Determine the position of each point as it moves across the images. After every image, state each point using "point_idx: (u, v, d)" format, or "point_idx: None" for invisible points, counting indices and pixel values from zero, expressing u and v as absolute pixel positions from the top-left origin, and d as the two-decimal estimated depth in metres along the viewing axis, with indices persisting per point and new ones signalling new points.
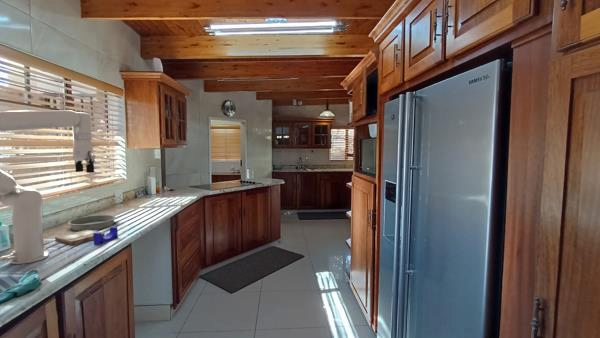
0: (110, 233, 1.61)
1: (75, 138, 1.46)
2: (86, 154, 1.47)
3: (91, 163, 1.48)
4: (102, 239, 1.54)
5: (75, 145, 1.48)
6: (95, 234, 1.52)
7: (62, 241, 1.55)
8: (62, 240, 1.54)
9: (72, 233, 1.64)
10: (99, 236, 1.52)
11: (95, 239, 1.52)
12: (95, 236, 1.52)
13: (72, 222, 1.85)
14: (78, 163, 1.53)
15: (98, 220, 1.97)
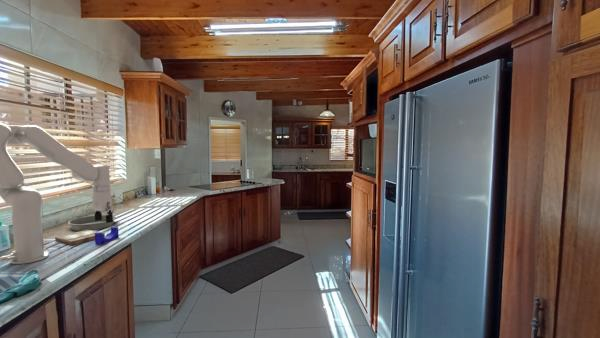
0: (111, 233, 1.61)
1: (95, 190, 1.52)
2: (105, 205, 1.53)
3: (110, 214, 1.54)
4: (103, 239, 1.54)
5: (95, 196, 1.54)
6: (96, 234, 1.51)
7: (62, 241, 1.55)
8: (62, 240, 1.54)
9: (72, 233, 1.64)
10: (100, 236, 1.52)
11: (96, 239, 1.52)
12: (97, 236, 1.52)
13: (72, 222, 1.85)
14: (97, 212, 1.59)
15: (98, 220, 1.97)
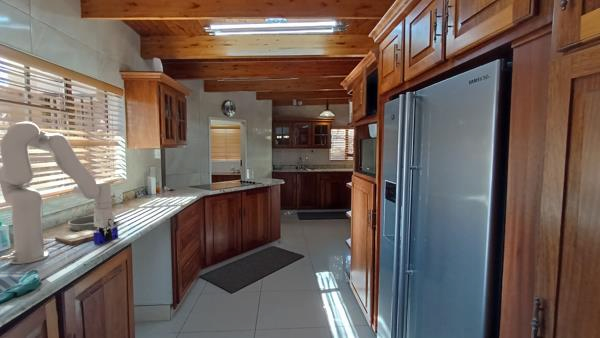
0: None
1: (96, 207, 1.53)
2: (107, 224, 1.54)
3: (109, 232, 1.56)
4: (102, 238, 1.54)
5: (96, 213, 1.55)
6: (95, 233, 1.52)
7: (62, 241, 1.55)
8: (62, 240, 1.54)
9: (72, 233, 1.64)
10: (99, 235, 1.52)
11: (95, 238, 1.52)
12: (96, 236, 1.52)
13: (72, 222, 1.85)
14: (100, 230, 1.59)
15: None
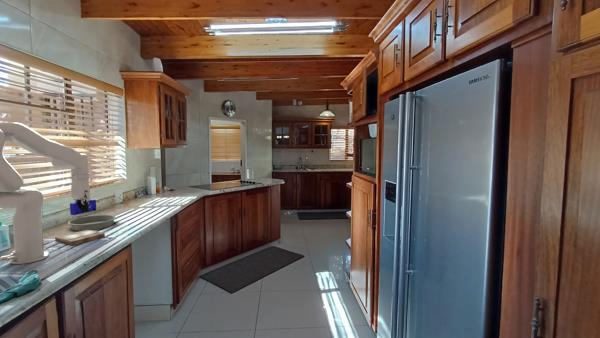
0: None
1: (73, 178, 1.55)
2: (83, 195, 1.55)
3: (86, 203, 1.57)
4: (78, 210, 1.55)
5: (73, 184, 1.57)
6: (71, 204, 1.53)
7: (62, 241, 1.55)
8: (62, 240, 1.54)
9: (72, 233, 1.64)
10: (75, 206, 1.54)
11: (71, 209, 1.54)
12: (72, 206, 1.54)
13: (72, 222, 1.85)
14: (78, 202, 1.60)
15: (98, 220, 1.97)
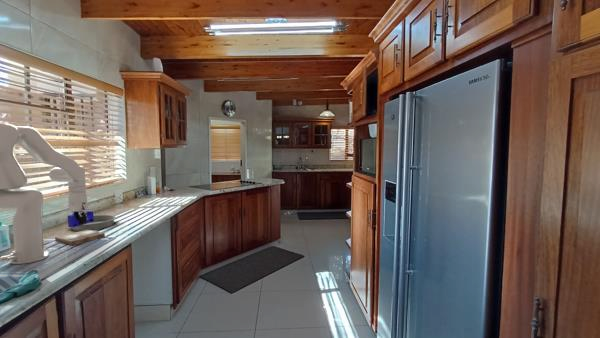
0: (86, 216, 1.64)
1: (70, 191, 1.56)
2: (81, 208, 1.57)
3: (84, 215, 1.58)
4: (76, 222, 1.57)
5: (70, 197, 1.58)
6: (69, 216, 1.55)
7: (62, 241, 1.55)
8: (62, 240, 1.54)
9: (72, 233, 1.64)
10: (73, 218, 1.55)
11: (69, 221, 1.55)
12: (69, 219, 1.55)
13: None
14: (75, 214, 1.61)
15: (98, 220, 1.97)
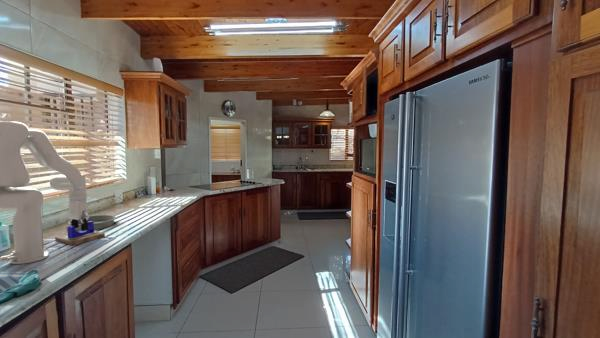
0: None
1: (71, 199, 1.56)
2: (81, 214, 1.57)
3: (85, 222, 1.58)
4: (76, 233, 1.57)
5: (71, 205, 1.58)
6: (69, 227, 1.55)
7: (62, 241, 1.55)
8: (62, 240, 1.54)
9: None
10: (72, 230, 1.55)
11: (69, 232, 1.55)
12: (69, 230, 1.55)
13: None
14: (74, 220, 1.62)
15: (98, 220, 1.97)
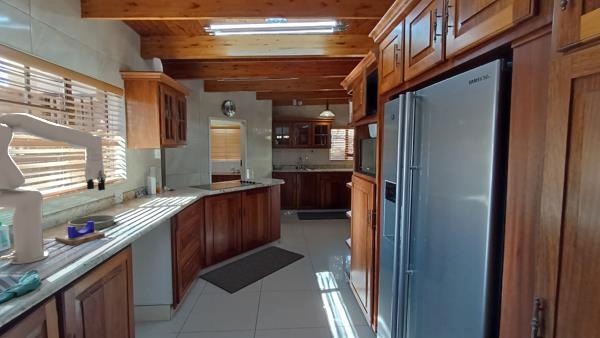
0: (86, 227, 1.64)
1: (88, 159, 1.59)
2: (98, 173, 1.59)
3: (102, 182, 1.60)
4: (76, 233, 1.57)
5: (87, 165, 1.61)
6: (69, 228, 1.55)
7: (62, 241, 1.55)
8: (62, 240, 1.54)
9: None
10: (73, 230, 1.55)
11: (69, 232, 1.55)
12: (69, 230, 1.55)
13: (72, 222, 1.85)
14: (89, 181, 1.65)
15: (98, 220, 1.97)
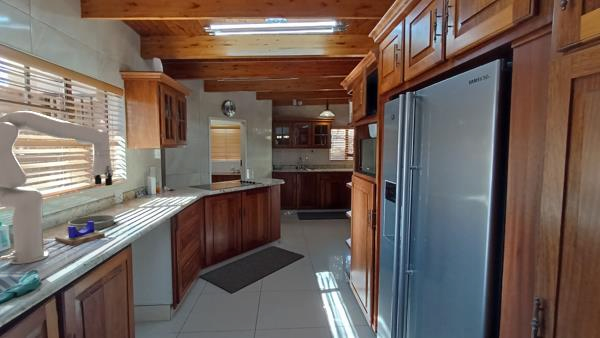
0: (87, 227, 1.64)
1: (95, 154, 1.60)
2: (105, 169, 1.61)
3: (109, 177, 1.62)
4: (77, 233, 1.57)
5: (95, 160, 1.62)
6: (69, 228, 1.55)
7: (62, 241, 1.55)
8: (62, 240, 1.54)
9: None
10: (73, 230, 1.55)
11: (69, 232, 1.55)
12: (70, 230, 1.55)
13: (72, 222, 1.85)
14: (97, 176, 1.67)
15: (98, 220, 1.97)
